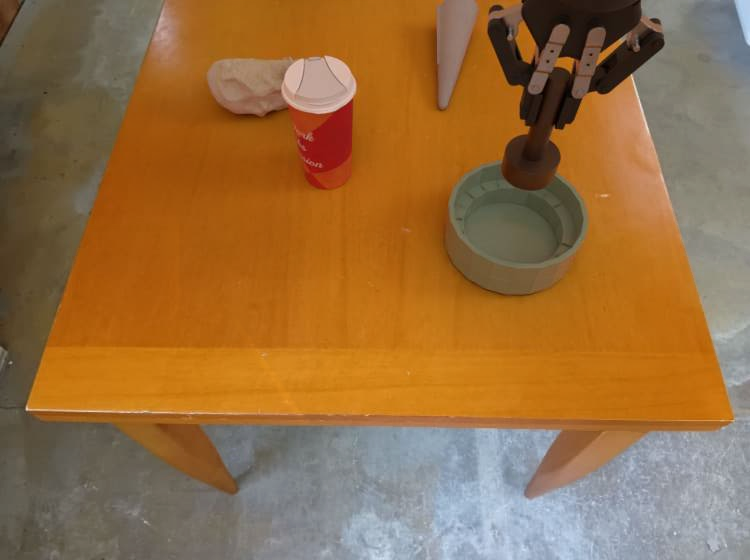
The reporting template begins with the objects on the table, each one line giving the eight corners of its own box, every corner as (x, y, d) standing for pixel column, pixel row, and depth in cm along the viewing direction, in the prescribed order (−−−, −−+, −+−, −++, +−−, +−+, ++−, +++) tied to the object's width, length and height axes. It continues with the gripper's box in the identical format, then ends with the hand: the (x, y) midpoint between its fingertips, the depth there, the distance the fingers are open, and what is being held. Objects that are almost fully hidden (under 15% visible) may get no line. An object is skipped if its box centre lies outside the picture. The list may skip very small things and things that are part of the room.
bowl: (599, 253, 67) (617, 221, 62) (504, 321, 62) (516, 293, 57) (510, 175, 74) (519, 141, 68) (417, 231, 69) (421, 199, 64)
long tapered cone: (484, 90, 76) (479, -7, 84) (436, 94, 77) (435, -3, 85) (482, 120, 81) (478, 26, 90) (437, 123, 82) (437, 29, 90)
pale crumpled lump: (199, 121, 82) (226, 114, 69) (192, 67, 80) (218, 49, 67) (298, 117, 89) (340, 110, 76) (294, 68, 87) (336, 52, 74)
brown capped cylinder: (565, 174, 56) (605, 78, 46) (527, 199, 54) (559, 105, 44) (527, 143, 58) (557, 45, 48) (489, 166, 56) (513, 70, 47)
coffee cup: (293, 153, 76) (276, 56, 63) (354, 145, 77) (349, 47, 64) (300, 201, 71) (283, 107, 59) (365, 192, 72) (362, 97, 59)
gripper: (499, -65, 34) (463, 144, 49) (736, -48, 33) (626, 160, 48) (503, -124, 38) (468, 86, 53) (715, -110, 37) (619, 100, 52)
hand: (544, 120), depth 51 cm, fingers closed on brown capped cylinder
